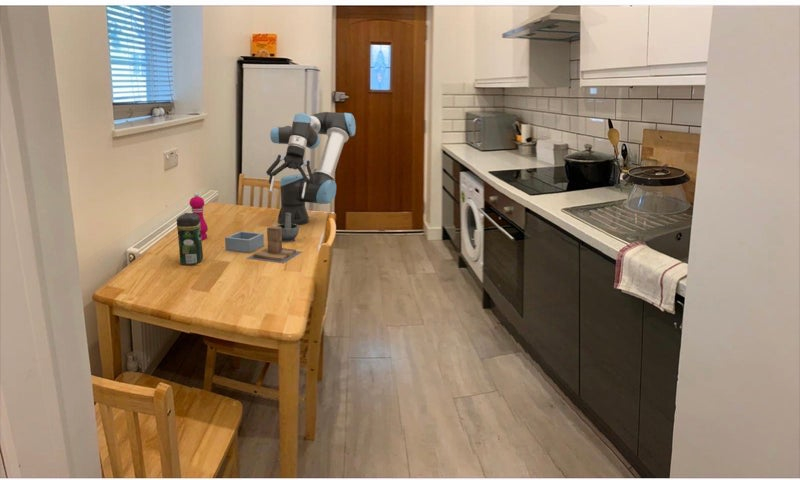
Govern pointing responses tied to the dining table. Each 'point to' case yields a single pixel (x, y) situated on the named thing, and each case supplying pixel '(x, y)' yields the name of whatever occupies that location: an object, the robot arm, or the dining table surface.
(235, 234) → the blue-grey square box
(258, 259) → the mat
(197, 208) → the pepper mill
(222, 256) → the dining table surface
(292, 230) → the mortar and pestle
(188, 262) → the coffee jar
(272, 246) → the lid
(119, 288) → the dining table surface
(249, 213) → the dining table surface
